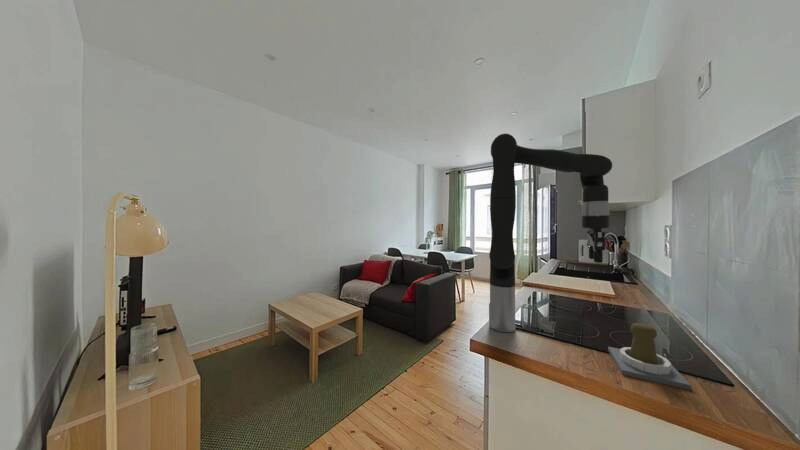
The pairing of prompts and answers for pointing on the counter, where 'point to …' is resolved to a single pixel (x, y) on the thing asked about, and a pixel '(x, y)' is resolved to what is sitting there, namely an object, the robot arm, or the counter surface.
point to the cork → (643, 343)
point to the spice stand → (648, 368)
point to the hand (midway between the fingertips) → (595, 260)
